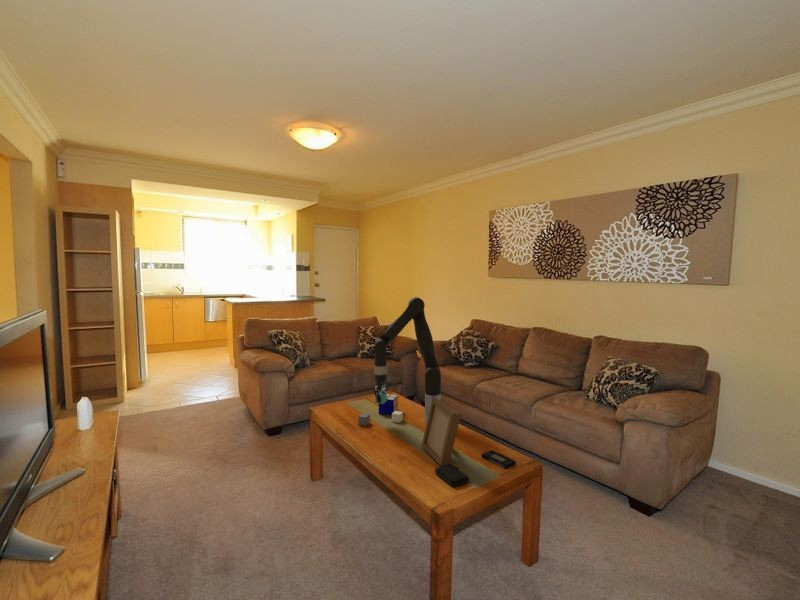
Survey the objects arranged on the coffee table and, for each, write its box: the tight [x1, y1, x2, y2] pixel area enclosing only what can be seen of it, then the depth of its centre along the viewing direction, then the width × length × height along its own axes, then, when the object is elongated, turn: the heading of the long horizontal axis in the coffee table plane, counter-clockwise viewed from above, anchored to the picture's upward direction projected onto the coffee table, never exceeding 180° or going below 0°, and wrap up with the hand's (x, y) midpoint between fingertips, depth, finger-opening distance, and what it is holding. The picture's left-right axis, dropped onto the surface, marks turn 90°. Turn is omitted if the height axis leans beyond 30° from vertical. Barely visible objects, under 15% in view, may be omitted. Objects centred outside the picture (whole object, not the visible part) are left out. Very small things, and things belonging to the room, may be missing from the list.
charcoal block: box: [357, 413, 371, 427], centre depth 232 cm, size 5×5×5 cm
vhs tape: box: [481, 449, 517, 470], centre depth 188 cm, size 8×14×2 cm, turn 37°
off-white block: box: [391, 410, 404, 424], centre depth 237 cm, size 5×5×5 cm
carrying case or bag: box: [434, 463, 470, 488], centre depth 172 cm, size 11×3×15 cm
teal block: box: [374, 392, 388, 404], centre depth 234 cm, size 5×5×5 cm
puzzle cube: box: [378, 393, 399, 416], centre depth 251 cm, size 10×10×10 cm
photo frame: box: [421, 399, 462, 467], centre depth 192 cm, size 15×22×25 cm
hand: (381, 400), depth 234 cm, fingers closed on teal block, 5 cm apart
